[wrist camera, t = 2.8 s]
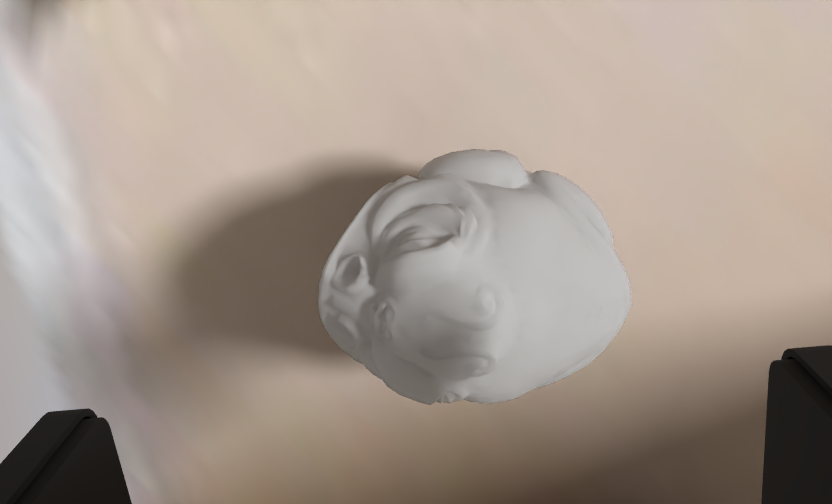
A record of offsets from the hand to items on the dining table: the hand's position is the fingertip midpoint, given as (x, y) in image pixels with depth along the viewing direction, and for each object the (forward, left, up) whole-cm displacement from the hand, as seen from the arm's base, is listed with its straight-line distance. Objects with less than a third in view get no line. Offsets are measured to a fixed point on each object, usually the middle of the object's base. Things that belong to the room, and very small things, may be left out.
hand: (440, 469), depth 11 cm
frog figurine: (0, +1, -11) cm, 11 cm away
